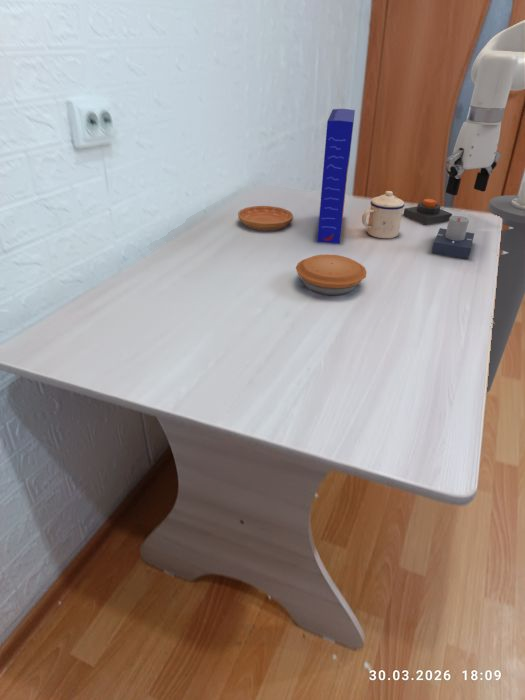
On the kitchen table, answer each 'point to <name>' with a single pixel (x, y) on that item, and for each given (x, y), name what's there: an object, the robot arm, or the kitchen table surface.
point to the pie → (330, 274)
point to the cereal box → (335, 174)
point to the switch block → (427, 214)
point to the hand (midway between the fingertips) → (465, 192)
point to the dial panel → (452, 245)
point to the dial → (457, 228)
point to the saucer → (265, 217)
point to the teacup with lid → (384, 216)
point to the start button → (429, 203)
